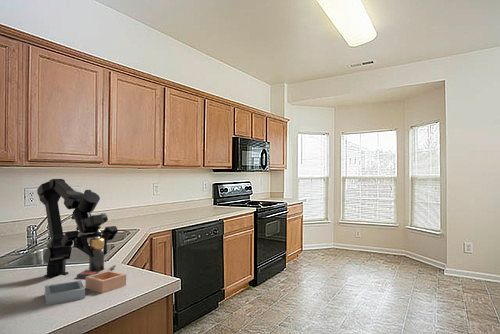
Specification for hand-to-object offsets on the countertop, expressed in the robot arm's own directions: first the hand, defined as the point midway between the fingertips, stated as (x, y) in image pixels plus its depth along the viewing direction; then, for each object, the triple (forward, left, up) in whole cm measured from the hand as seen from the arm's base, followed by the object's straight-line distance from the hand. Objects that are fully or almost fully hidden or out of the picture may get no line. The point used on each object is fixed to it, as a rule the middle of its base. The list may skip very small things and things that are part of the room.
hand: (98, 254), depth 119 cm
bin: (-4, 0, -13) cm, 14 cm away
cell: (-1, -1, -6) cm, 6 cm away
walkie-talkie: (-19, -15, -14) cm, 28 cm away
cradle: (+8, -7, -13) cm, 17 cm away
